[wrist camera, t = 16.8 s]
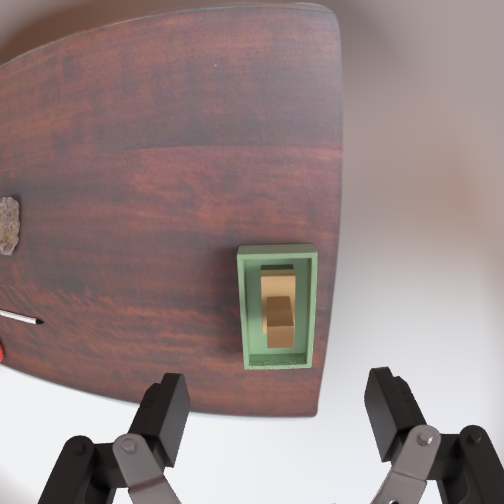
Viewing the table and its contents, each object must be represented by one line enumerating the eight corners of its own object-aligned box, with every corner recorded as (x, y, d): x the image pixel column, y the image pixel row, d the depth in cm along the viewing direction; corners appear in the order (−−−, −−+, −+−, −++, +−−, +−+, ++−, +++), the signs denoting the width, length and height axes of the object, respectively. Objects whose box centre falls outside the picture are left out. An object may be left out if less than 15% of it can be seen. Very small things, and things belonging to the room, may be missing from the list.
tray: (239, 245, 35) (236, 254, 32) (312, 243, 35) (317, 252, 32) (245, 354, 40) (244, 369, 37) (308, 352, 39) (311, 367, 36)
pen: (-19, 303, 41) (-22, 305, 40) (44, 319, 40) (41, 322, 39) (-17, 307, 41) (-21, 310, 40) (46, 324, 41) (42, 327, 40)
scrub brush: (260, 264, 35) (259, 303, 26) (292, 264, 35) (301, 302, 26) (262, 318, 37) (261, 367, 28) (292, 317, 37) (299, 366, 28)
